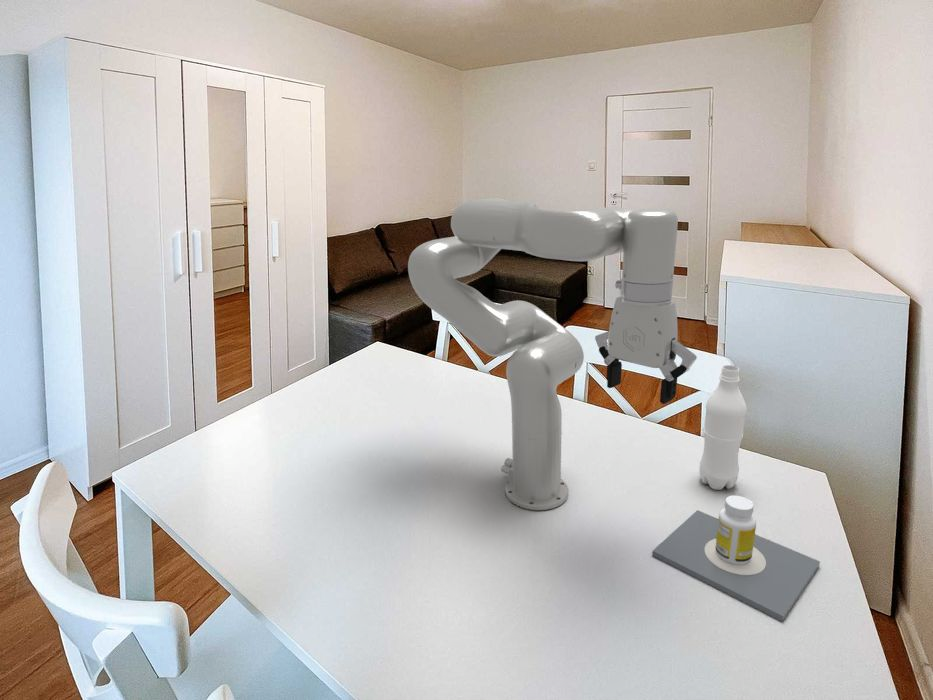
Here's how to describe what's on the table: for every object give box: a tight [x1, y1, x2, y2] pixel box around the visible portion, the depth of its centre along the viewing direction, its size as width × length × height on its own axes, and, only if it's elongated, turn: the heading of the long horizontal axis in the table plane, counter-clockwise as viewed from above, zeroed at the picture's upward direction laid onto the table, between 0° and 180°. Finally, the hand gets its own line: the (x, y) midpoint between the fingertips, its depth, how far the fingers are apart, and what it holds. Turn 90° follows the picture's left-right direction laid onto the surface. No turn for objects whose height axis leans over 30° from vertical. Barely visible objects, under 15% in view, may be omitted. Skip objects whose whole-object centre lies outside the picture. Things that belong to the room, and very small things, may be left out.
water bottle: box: [698, 364, 747, 491], centre depth 107 cm, size 7×7×25 cm
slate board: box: [651, 509, 821, 623], centre depth 89 cm, size 20×16×1 cm
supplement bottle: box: [715, 495, 757, 564], centre depth 88 cm, size 5×5×10 cm
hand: (639, 393), depth 90 cm, fingers open, 9 cm apart
